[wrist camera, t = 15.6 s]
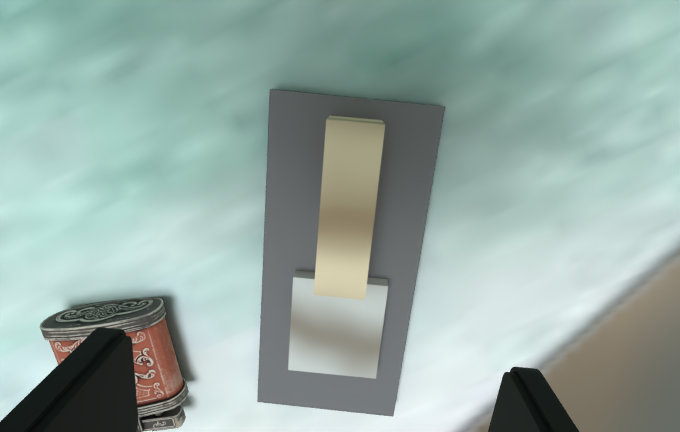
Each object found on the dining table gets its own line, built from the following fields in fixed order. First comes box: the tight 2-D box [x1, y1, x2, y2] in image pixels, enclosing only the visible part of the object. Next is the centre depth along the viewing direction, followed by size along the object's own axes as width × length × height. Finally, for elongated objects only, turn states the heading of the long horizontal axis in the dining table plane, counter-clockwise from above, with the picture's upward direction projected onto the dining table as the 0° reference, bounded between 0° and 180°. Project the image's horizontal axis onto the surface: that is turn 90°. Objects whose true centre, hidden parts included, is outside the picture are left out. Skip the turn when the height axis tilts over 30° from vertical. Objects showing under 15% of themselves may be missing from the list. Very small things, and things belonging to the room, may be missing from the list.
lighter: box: [40, 298, 189, 432], centre depth 29 cm, size 8×3×10 cm
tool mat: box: [257, 89, 445, 416], centre depth 27 cm, size 22×10×1 cm, turn 175°
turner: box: [288, 116, 388, 379], centre depth 25 cm, size 17×6×3 cm, turn 175°
